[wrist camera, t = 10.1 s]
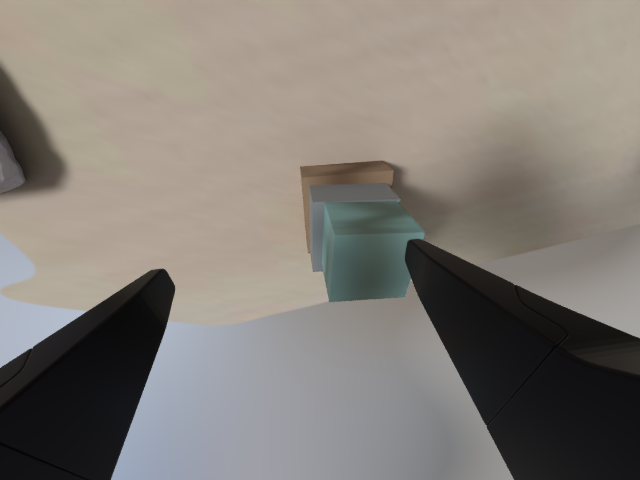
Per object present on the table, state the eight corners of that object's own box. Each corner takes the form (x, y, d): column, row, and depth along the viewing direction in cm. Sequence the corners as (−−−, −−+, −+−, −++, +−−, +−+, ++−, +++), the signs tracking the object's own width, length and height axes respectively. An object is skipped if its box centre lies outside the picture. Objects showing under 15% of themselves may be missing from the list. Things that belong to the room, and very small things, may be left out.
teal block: (397, 201, 16) (425, 232, 13) (384, 259, 19) (404, 296, 16) (324, 202, 16) (334, 235, 12) (321, 262, 18) (329, 302, 15)
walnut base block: (381, 159, 21) (394, 170, 18) (374, 228, 25) (383, 245, 22) (300, 165, 20) (301, 177, 18) (306, 235, 24) (308, 253, 22)
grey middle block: (385, 183, 19) (400, 199, 16) (375, 245, 22) (386, 266, 20) (309, 185, 18) (312, 202, 16) (309, 249, 21) (312, 271, 19)
